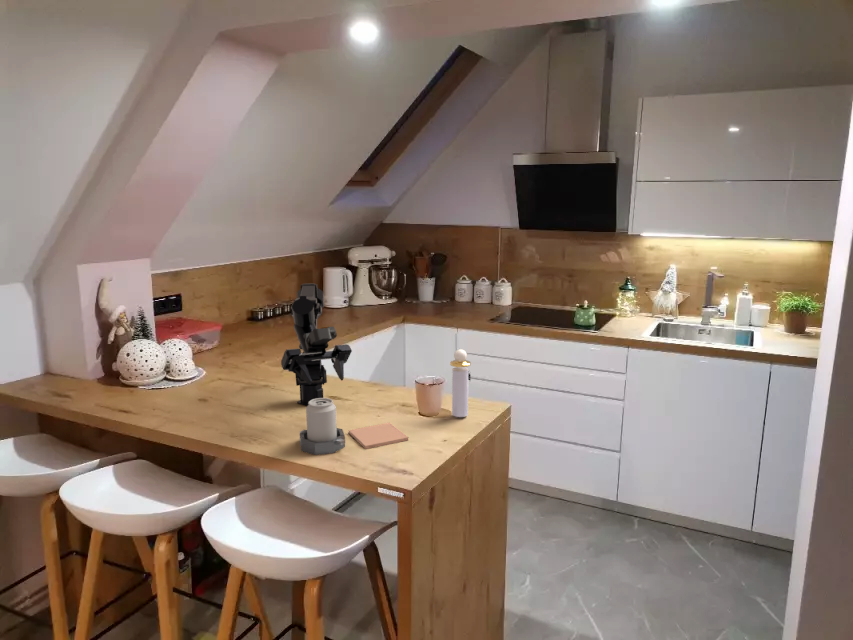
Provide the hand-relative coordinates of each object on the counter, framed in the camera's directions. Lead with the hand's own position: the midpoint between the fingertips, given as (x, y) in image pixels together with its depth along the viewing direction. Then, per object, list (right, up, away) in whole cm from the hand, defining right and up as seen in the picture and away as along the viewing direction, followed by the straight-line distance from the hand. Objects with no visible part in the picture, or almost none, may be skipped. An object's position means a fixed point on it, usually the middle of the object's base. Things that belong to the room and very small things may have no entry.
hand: (326, 381), depth 170 cm
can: (0, -16, -5) cm, 17 cm away
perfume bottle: (+36, -12, +15) cm, 41 cm away
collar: (0, -16, -5) cm, 17 cm away
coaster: (+13, -15, +1) cm, 20 cm away
